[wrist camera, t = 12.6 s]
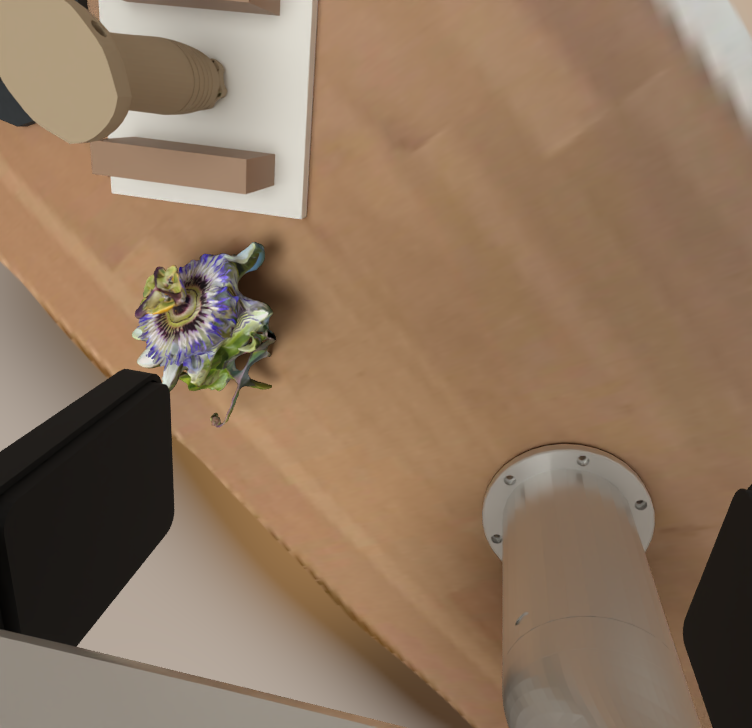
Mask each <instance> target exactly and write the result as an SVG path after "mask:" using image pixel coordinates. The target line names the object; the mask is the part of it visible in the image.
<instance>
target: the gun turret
mask: <svg viewBox="0 0 752 728" xmlns="http://www.w3.org/2000/svg"><path fill="white" fill-rule="evenodd" d="M75 1H76V2H78V3H79V4H80V5H82V6H83V7H84V8H86V9H87V10H88V6H87V0H75ZM0 119H1V120H3V121H6V122H8V123H10V124H13V125H15V126H29V125H32V124H34V123H36V122H35V121H33V120H32V118H31V117H30V116H29V115H28V114H27V113H26V112H25V111H24V109H23V108H22V107H21V106H20V104H19V103H18V102H17V100H16V99H15V98H14V97H13V95H12V94H11V93H10V92H9V90H8V89H7V87H6V86H5V84H4V83H3V81H2V79H1V77H0Z"/></svg>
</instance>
